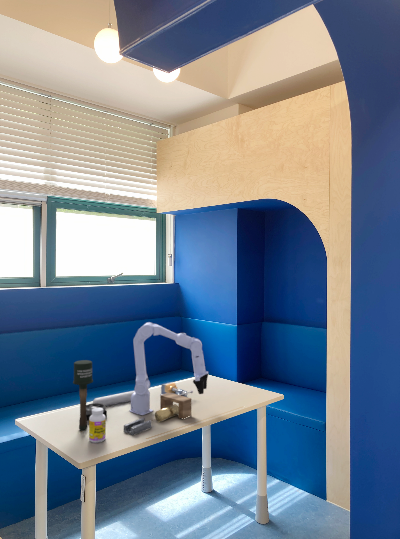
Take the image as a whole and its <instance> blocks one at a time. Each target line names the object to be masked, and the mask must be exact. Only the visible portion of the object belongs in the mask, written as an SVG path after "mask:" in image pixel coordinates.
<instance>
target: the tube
mask: <svg viewBox="0 0 400 539" xmlns="http://www.w3.org/2000/svg"><path fill="white" fill-rule="evenodd" d="M134 392H135V390H130V391H126V392H121V393H116V394H109V395H107V396H101V397H95V398H94V399H93V400H92V403H101V404H104V405H105V407H109V406H113V405H121V404H125V403H128V402H129V403H131V396H132V394H133V393H134Z"/></svg>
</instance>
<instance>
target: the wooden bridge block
mask: <svg viewBox="0 0 400 539" xmlns="http://www.w3.org/2000/svg"><path fill="white" fill-rule="evenodd" d="M159 396H160V400H159V401H160V408H159V410H161V409H163V408H166V407H169V406H171V405H174V403H176V404H178V407H179V414H178V419H180V418H183V419H182V420H185V419H187V418H186V417H188V416H190V415H191V416H192V397H189V396H187V397H184V396H180V395H177V394H173V393H166V394H163V395H159ZM191 416H190V417H191ZM184 418H185V419H184ZM188 418H189V417H188Z"/></svg>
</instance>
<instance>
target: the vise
mask: <svg viewBox="0 0 400 539" xmlns="http://www.w3.org/2000/svg"><path fill="white" fill-rule="evenodd" d="M160 389H161V390H160V391H161V392H160V395H163V394H166V393H173V394H177V395H180V396H184V397H188V394H193V393H194V390H192V389H191V390H190V391H188V390H184V389H181V388H178V386H177V384H176V383H175V382H167V383H162V384H161V386H160ZM160 395H159V396H160Z"/></svg>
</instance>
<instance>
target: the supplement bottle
mask: <svg viewBox="0 0 400 539" xmlns="http://www.w3.org/2000/svg"><path fill="white" fill-rule="evenodd" d="M106 419H107V417H105V415H104V414H103V408H93V409H92V415H91V416H90V418H89V421H88V423H89V424H88V431H89V432H88V438H89V439H88V440H89V442H90V443H94V444H97V443H102V442H103V441H105V440H106V429H107V426H106V425H107V423H106V421H107V420H106Z"/></svg>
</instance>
